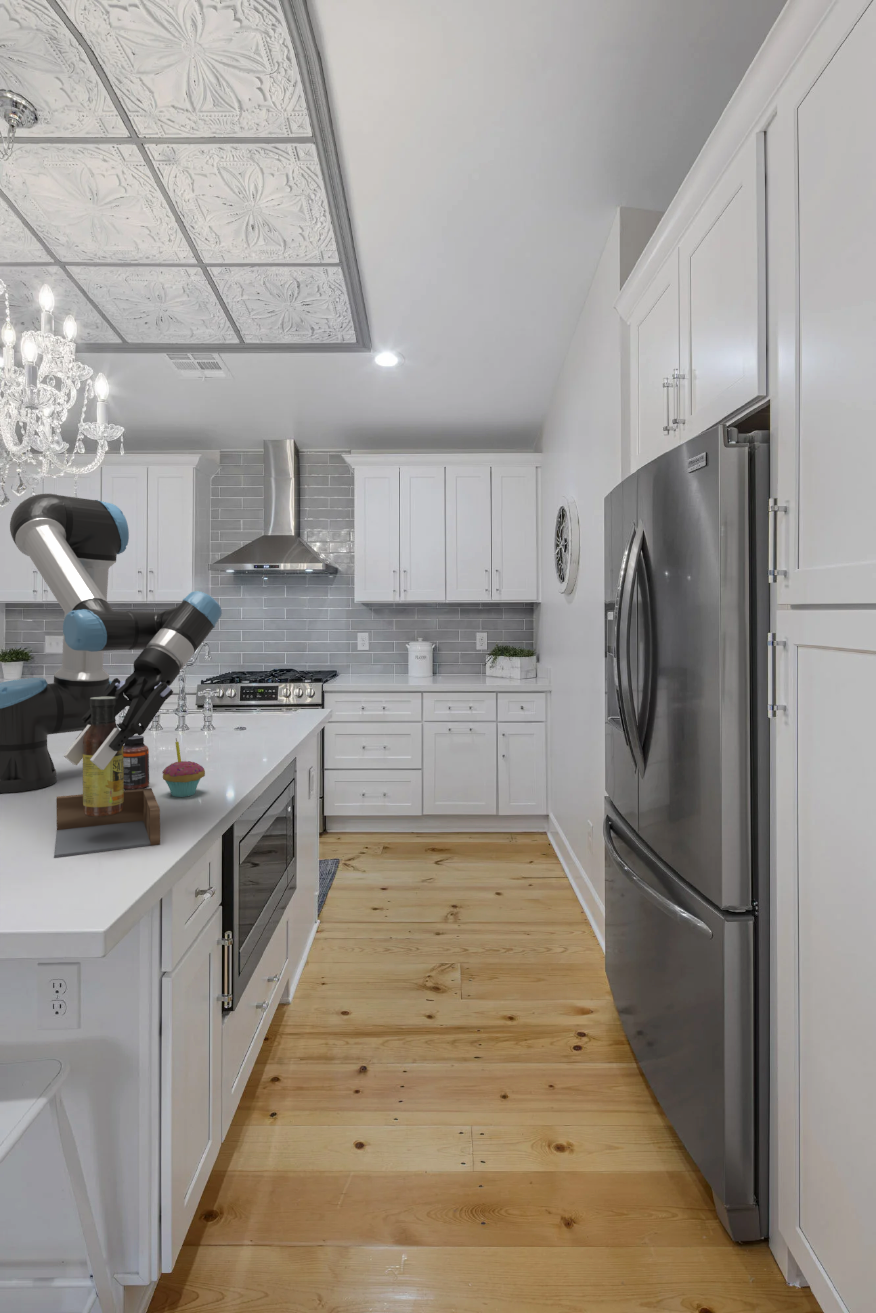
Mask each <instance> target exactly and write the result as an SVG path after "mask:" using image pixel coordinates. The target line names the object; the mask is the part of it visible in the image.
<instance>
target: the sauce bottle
mask: <svg viewBox="0 0 876 1313" xmlns="http://www.w3.org/2000/svg"><path fill="white" fill-rule="evenodd" d="M115 706H116V697H93V698H90V708H91V720H90V722H91V726H90V727H89V729H88V731H86V734H85V736H84V741H83V745H84V747H83V749H84V753H83V758H82V794H83V805H84V814H85V815H86V816H88V817H107V816H111V815H115V814H118V813H120V812H121V811H122V810H123V802H124V790H125V789H124V764H123V763H124V762H123V746H124V745H123V746H122V748H121V749H120V750H119V751H117V753H116V754H115V756H114V757H113V758H112V760H111V761H110V762H109V764H108V765H107V766H106V768H105V769H104V770H101V769H100V768H98V767H97V766H96V765H95V764H94V763H93V762H92V761H90V759H91V758H92V757H93V755H94V754H95V753H96V751H97V750H98V749H99V748H100V746H101V745H102V744H103V742H104V741H105V740H106V738H107V737H108V736H109V735H110V733H111V732H112V731H113V729H114V728H118V726H117V723H116V721H117V719H116V716H115Z"/></svg>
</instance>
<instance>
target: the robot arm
mask: <svg viewBox="0 0 876 1313" xmlns="http://www.w3.org/2000/svg"><path fill="white" fill-rule="evenodd" d="M9 521H10V522H9V532H10V536H11V539H12V540H13V543H14V544H15V546H16V548H17V549H18V550H19V551H20V552H21V553H22V554H23V555H25V556H27V557H29V558H30V560H31V561H32V563H33V564H34V567H35V568H36V570H37V571H38V572H39V575H40V576H41V577H42V579H43V580H44V582H45V583H46V585H47V587H48V588H49V590H50V592H51V593H52V594H53V597H54V598H55V599H56V601H57V603H58V604H59V605H60V607H61V609H62V610H63V612H64V618H63V619H64V620H63V624H62V633H63V637H62V638H63V639H62V640H63V641H62V657H61V658H62V659H61V662H62V663H61V667H60V668H59V669H57V671H55V672H54V673H53V682H52V683H49V682H48V681H47V679H45V678H44V677H30V678H19V679H13V680H7V681H2V682H0V793H3V794H4V793H6V794H7V793H18V792H27V791H33V790H39V789H42V788H46V787H50V786H52V785H54V784H55V783H57V781H58V780H57V779H58V775H57V770H56V769H55V765H54V761H53V759H52V756H51V754H50V751H49V749H48V748H49V747H48V735H57V734H65V733H73V732H74V733H75V732H80V733H79V735H78V736H77V737H76V738H75V740H74V741H73V743H72V744H71V745H70V747H69V748H68V749H67V750H66V751H65V752H64V754H63V755H62V756H63V757H64V758H65V759H66V760H68V761H69V762H70V763H71V764H72V765H74V766H78V765H79V763H80V762H81V761H82V760H83V753H84V749H83V747H84V745H83V741H84V736H85V734H86V731H88V729H89V727H90V726H91V722H90V720H91V708H90V698H93V697H116V706H115V717H117V716H118V714H120V713H121V712H122V711H123V710H124V709H125V708H126V707H128V708H127V710H126V713H125V715H124V716H123V719H122V720H121V722H120V723H116V725H117V728H114V729H113V731H112V732H111V733H110V735H109V736H108V737H107V738H106V740H105V741H104V742H103V744H102V745H101V746H100V748H99V749H98V750H97V751H96V753H95V754H94V755H93V757H92V758H91V759H90V761H92V762H93V763H94V764H95V765H96V766H97V767H98V768H100V769H101V770H104V769H105V768H106V766H107V765H108V764H109V762H110V761H111V760H112V758H113V757H114V756H115V754H116V753H117V751H119V750H120V749H121V748H122V746H124V744H125V742H126V741H127V740H128V738H129V737H132V736H135V735H138V736H143V734H144V733H145V732H146V731H147V729H148V727H149V726H150V724H151V722H152V721H153V720H154V718H155V717H156V715H157V714H158V712H159V711H160V710H161V707H162V706H163V705H164V703H165V701H167V699H169V698H171V696H172V695H173V693H174V690H173V689H172V687H170V686H171V685H172V684H173V683H174V681H175V680H176V678H177V677H178V676H179V675H180V672H181V670H182V669H183V668H185V666H186V664H187V663H188V662H189V660H190V659H191V658H192V656H193V655H194V654H195V652H196V651H197V650H198V649H199V647H200V646H201V645H202V643H203V642H204V641H205V640H206V638H207V637H208V636H209V634H210V633H211V631H212V630H213V629H215V627H216V624H217V623H218V622H219V620H220V619H221V617H222V614H223V613H222V607H221V606H220V604H219V602H218V601H217V600H216V599H215V598H214V597H212V596H211V595H209V594H208V593H206V592H204V591H200V590H199V591H198V590H193V591H191V592H190V593H188V595H187V596H185V597H183V599H182V601H181V603H180V604H179V605H176V606H174V607H171V608H168V609H166V610H162V611H130V610H129V611H128V610H114V609H113V607H112V606H111V605H110V604H109V602H108V585H109V572H110V571H109V569H110V568H111V567H112V566H113V565H115V563H116V562H117V555H121V554H123V553H124V552H125V551H126V550H127V546H128V543H129V539H130V534H129V533H130V530H129V526H128V522H127V519H126V516H125V515H124V513H123V511H122V509H121V508H120V507H119V506H117V505H116V504H114V503H111V502H106V501H102V500H99V499H89V498H81V497H74V496H68V495H67V496H66V495H59V494H55V493H40V494H35V495H32V496H29V497H28V498H26V499H24V500H23V501H22V502H20V503H19V505H17V507H15V509H14V511H13V512H12V514H11V517H10V520H9ZM127 650H128V651H139V650H140V651H141V650H142V651H141V652H140V654H138V656H137V657H136V658H135V660H134V661H133V672H132V673H131V674H129V675H128V676H127V677H126V678H125V680H120V679H119V678H118V677H115V678H114V679H112V680H110V674H109V673H108V672H107V671H106V670H104V656H105V655H104V653H105V651H106V652H107V651H127Z"/></svg>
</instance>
